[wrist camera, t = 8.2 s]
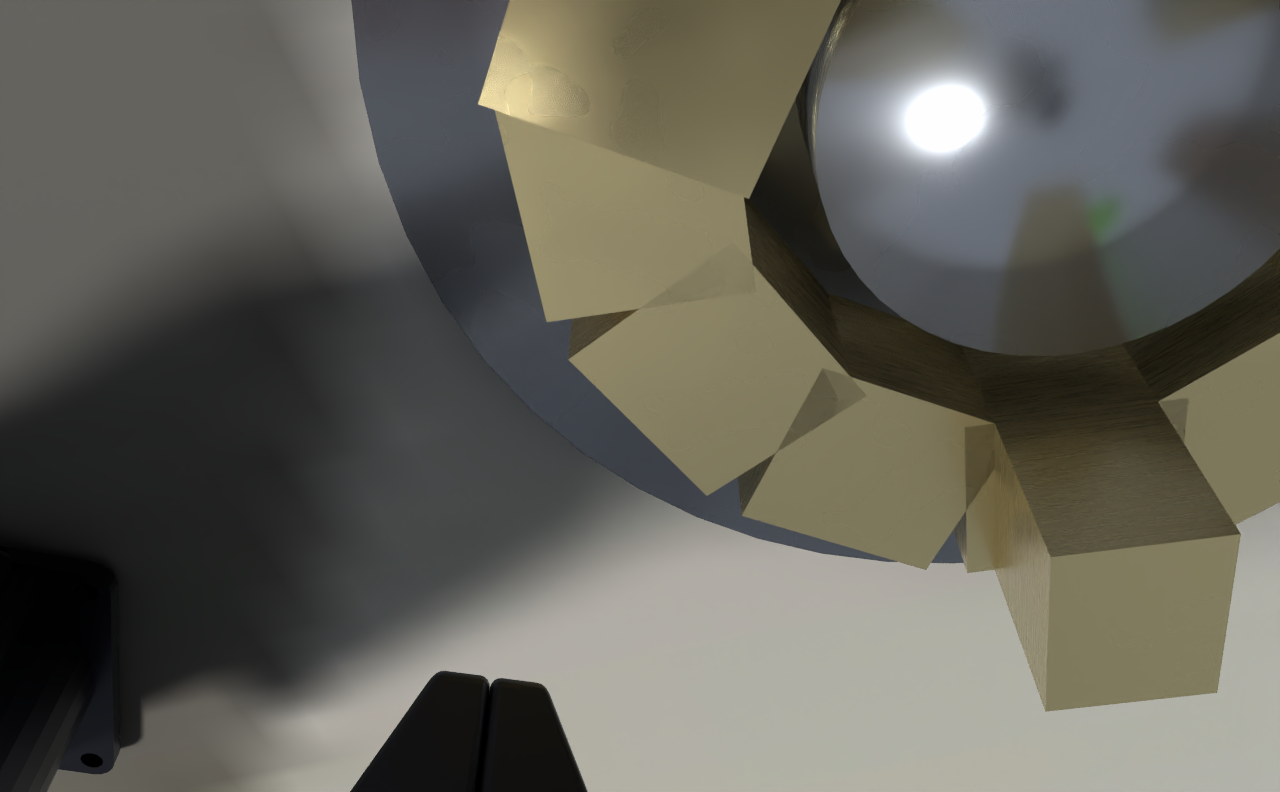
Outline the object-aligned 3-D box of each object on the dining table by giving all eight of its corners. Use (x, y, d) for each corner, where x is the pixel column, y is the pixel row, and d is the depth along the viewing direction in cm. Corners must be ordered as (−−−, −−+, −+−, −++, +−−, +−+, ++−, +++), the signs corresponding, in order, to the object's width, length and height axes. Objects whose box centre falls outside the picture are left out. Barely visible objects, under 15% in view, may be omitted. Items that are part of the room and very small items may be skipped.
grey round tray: (1257, 585, 26) (1352, 742, 22) (318, 413, 23) (262, 559, 20) (2077, -573, 15) (2512, -618, 11) (477, -1141, 12) (413, -1417, 9)
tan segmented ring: (1867, -277, 15) (2390, -212, 11) (1172, 560, 23) (1302, 802, 19) (610, -960, 12) (593, -1288, 7) (301, 291, 20) (201, 505, 15)
